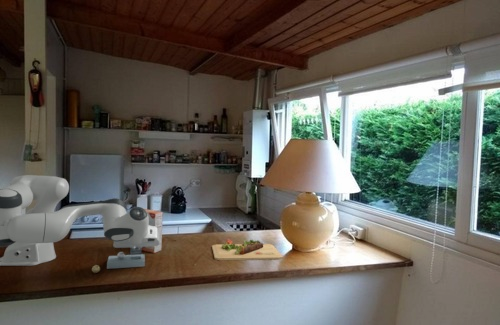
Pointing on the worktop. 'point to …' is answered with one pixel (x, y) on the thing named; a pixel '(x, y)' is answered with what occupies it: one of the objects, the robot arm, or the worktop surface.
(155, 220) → the cracker box
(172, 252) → the worktop surface
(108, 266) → the deck
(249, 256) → the cutting board
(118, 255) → the ball
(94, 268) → the brass ball
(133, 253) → the block
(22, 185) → the robot arm
